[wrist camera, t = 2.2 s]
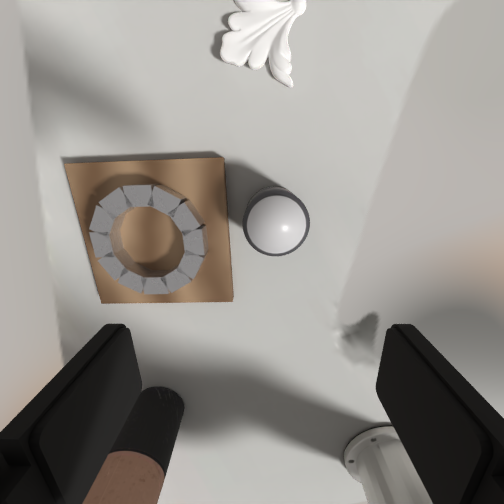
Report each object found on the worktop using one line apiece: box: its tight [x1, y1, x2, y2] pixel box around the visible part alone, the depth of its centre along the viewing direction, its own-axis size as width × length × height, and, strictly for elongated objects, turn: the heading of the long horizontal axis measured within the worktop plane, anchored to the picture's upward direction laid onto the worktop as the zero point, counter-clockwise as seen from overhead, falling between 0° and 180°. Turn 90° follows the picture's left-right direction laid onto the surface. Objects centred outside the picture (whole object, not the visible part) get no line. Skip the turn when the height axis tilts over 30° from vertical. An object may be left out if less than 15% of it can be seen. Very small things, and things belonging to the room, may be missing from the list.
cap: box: [243, 186, 310, 256], centre depth 24 cm, size 6×6×5 cm
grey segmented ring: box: [89, 184, 208, 294], centre depth 26 cm, size 12×12×2 cm
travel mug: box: [83, 387, 184, 504], centre depth 27 cm, size 8×8×20 cm
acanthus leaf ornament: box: [220, 0, 306, 88], centre depth 21 cm, size 8×7×2 cm
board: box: [64, 157, 234, 304], centre depth 27 cm, size 16×16×1 cm
